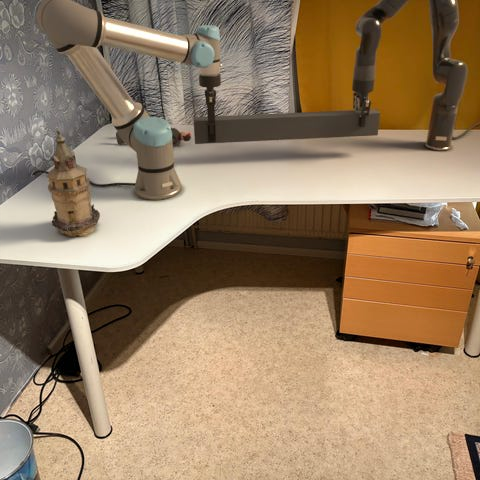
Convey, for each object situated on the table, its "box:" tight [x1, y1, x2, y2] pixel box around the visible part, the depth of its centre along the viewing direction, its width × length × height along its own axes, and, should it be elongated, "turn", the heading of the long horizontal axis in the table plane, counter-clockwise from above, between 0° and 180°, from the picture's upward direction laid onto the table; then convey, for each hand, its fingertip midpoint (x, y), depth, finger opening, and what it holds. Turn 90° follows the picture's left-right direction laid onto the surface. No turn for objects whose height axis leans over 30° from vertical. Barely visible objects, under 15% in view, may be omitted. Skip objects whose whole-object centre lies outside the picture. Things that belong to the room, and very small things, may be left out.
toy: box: [115, 127, 192, 147], centre depth 218 cm, size 26×6×30 cm
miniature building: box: [46, 129, 101, 237], centre depth 148 cm, size 13×14×30 cm
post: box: [192, 108, 381, 145], centre depth 196 cm, size 68×5×8 cm, turn 95°
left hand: (211, 139), depth 195 cm, fingers closed on post, 5 cm apart
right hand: (359, 124), depth 198 cm, fingers closed on post, 5 cm apart
